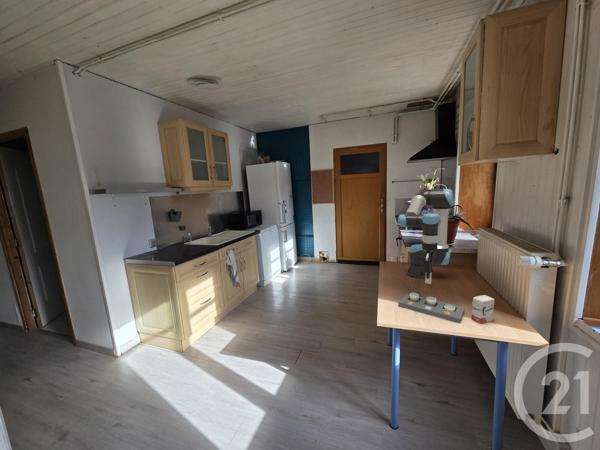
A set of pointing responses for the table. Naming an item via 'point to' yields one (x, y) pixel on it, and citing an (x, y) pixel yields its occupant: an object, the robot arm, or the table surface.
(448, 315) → the board
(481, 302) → the ink box
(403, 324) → the table surface
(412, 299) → the button
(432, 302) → the button
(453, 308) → the button
